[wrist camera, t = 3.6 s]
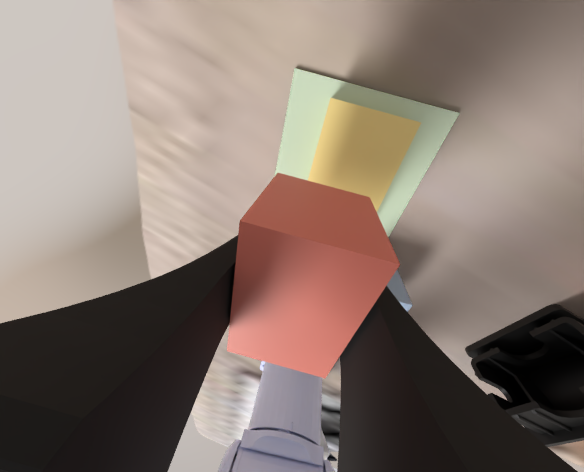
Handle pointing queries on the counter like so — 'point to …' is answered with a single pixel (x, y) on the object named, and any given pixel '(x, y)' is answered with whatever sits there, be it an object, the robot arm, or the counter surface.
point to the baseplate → (319, 89)
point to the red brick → (306, 274)
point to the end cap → (538, 373)
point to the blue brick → (399, 291)
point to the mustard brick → (361, 149)
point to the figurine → (324, 445)
